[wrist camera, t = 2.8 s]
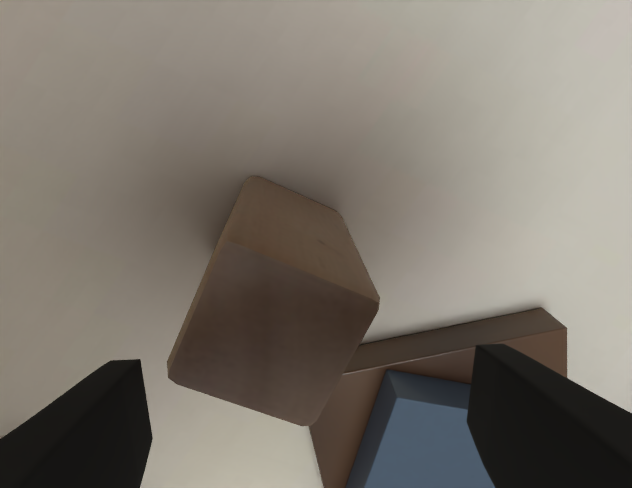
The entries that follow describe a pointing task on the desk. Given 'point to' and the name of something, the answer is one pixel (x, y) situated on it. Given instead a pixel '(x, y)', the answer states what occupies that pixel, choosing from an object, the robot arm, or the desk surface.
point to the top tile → (419, 437)
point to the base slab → (426, 360)
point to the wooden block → (276, 307)
